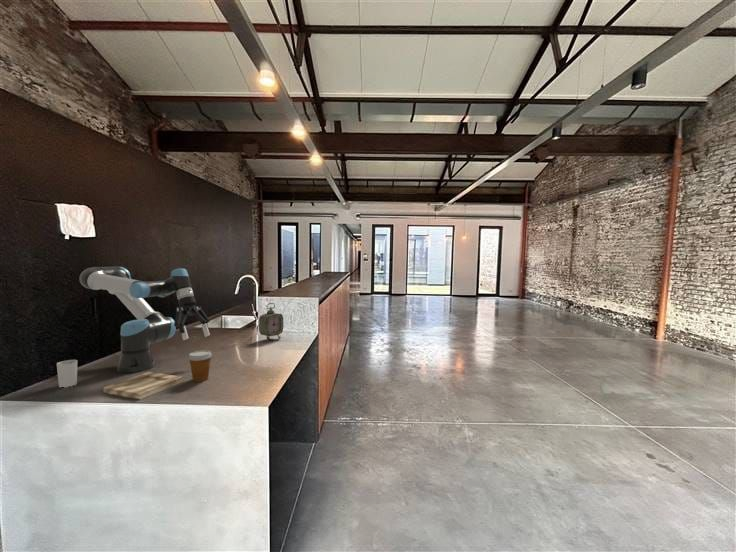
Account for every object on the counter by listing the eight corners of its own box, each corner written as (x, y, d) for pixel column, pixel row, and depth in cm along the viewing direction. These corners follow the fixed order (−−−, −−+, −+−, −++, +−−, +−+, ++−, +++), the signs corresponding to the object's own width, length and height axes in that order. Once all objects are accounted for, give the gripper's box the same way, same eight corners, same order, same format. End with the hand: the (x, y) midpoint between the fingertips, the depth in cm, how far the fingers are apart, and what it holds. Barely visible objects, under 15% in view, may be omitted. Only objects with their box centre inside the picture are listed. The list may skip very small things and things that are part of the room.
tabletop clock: (266, 343, 220) (266, 304, 218) (257, 341, 224) (257, 303, 223) (283, 338, 232) (283, 302, 230) (274, 336, 237) (274, 301, 235)
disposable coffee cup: (202, 383, 148) (202, 356, 148) (183, 382, 150) (183, 355, 149) (216, 376, 157) (216, 350, 157) (198, 374, 159) (198, 349, 159)
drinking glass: (67, 382, 149) (66, 359, 149) (82, 382, 149) (81, 359, 148) (53, 387, 142) (52, 364, 142) (68, 388, 142) (67, 364, 142)
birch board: (103, 392, 138) (103, 387, 138) (149, 376, 157) (148, 371, 157) (140, 399, 132) (140, 393, 131) (183, 381, 151) (182, 376, 150)
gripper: (170, 295, 160) (181, 338, 157) (210, 295, 184) (220, 332, 181) (159, 301, 162) (170, 343, 159) (199, 300, 186) (210, 337, 183)
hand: (197, 337), depth 170 cm, fingers open, 13 cm apart
